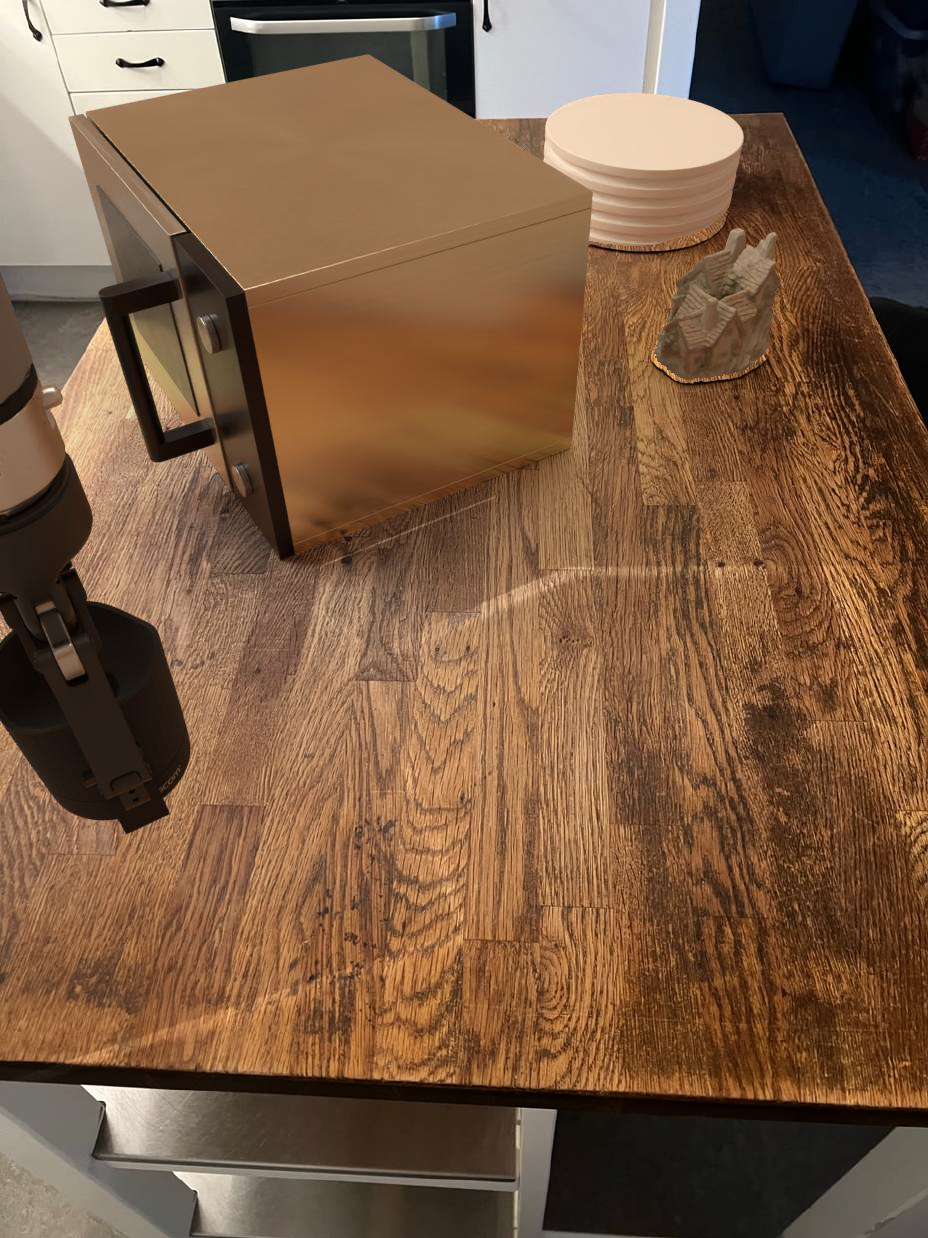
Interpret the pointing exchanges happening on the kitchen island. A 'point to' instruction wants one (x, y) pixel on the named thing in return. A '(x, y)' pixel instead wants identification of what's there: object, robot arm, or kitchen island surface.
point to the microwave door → (149, 305)
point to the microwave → (365, 288)
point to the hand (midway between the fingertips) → (121, 761)
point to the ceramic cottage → (721, 311)
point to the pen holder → (141, 687)
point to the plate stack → (646, 163)
